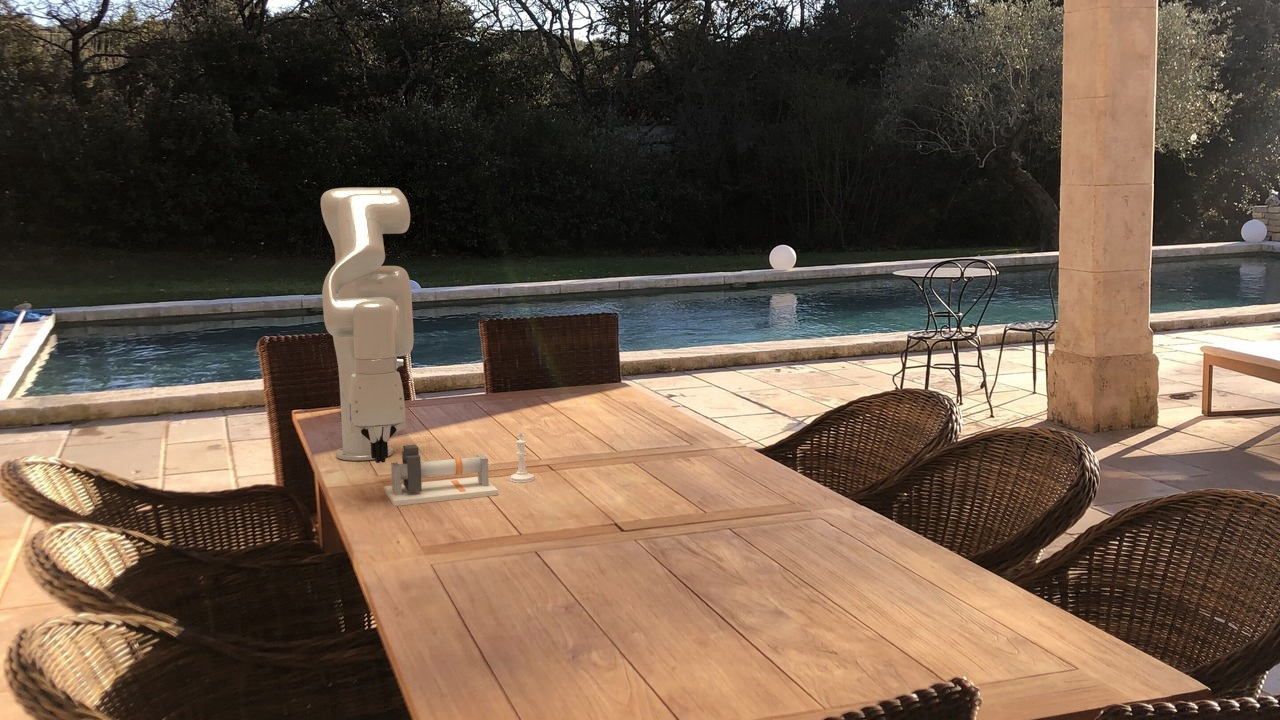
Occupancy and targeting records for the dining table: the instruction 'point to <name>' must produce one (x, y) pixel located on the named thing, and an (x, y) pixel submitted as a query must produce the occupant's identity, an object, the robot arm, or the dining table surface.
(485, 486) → the rail
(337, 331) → the robot arm
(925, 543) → the dining table surface
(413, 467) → the dark grey notched block
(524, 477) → the chess piece
